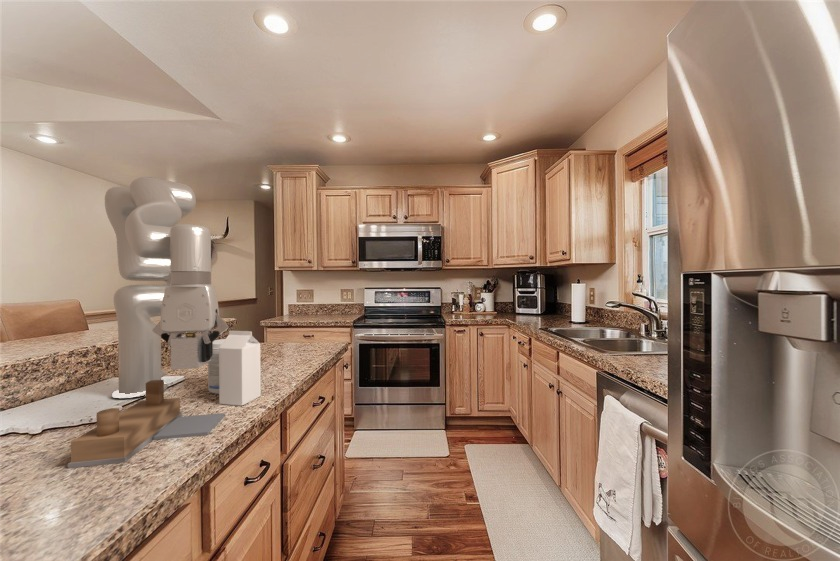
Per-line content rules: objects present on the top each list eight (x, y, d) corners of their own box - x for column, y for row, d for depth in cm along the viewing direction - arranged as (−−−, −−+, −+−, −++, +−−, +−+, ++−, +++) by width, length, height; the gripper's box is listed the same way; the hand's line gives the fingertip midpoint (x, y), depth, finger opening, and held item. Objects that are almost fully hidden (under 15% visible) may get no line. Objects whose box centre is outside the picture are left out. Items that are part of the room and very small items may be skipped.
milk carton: (242, 406, 84) (241, 333, 84) (219, 404, 86) (218, 332, 86) (260, 396, 91) (260, 329, 91) (239, 395, 93) (238, 328, 93)
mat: (178, 419, 76) (178, 417, 76) (225, 415, 79) (225, 413, 79) (153, 439, 67) (153, 437, 67) (207, 434, 69) (207, 431, 69)
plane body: (141, 419, 77) (140, 379, 77) (182, 415, 79) (181, 376, 79) (67, 468, 57) (67, 414, 57) (125, 462, 59) (124, 409, 59)
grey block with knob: (187, 361, 75) (186, 330, 75) (210, 360, 76) (210, 329, 76) (170, 369, 69) (170, 335, 69) (197, 368, 70) (197, 334, 70)
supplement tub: (249, 389, 98) (248, 340, 98) (212, 397, 91) (212, 345, 91) (239, 382, 104) (239, 336, 104) (204, 389, 98) (204, 340, 98)
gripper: (136, 280, 67) (137, 368, 67) (227, 280, 71) (228, 363, 71) (157, 280, 74) (157, 360, 74) (238, 280, 78) (239, 355, 78)
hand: (192, 360), depth 73 cm, fingers closed on grey block with knob, 5 cm apart
